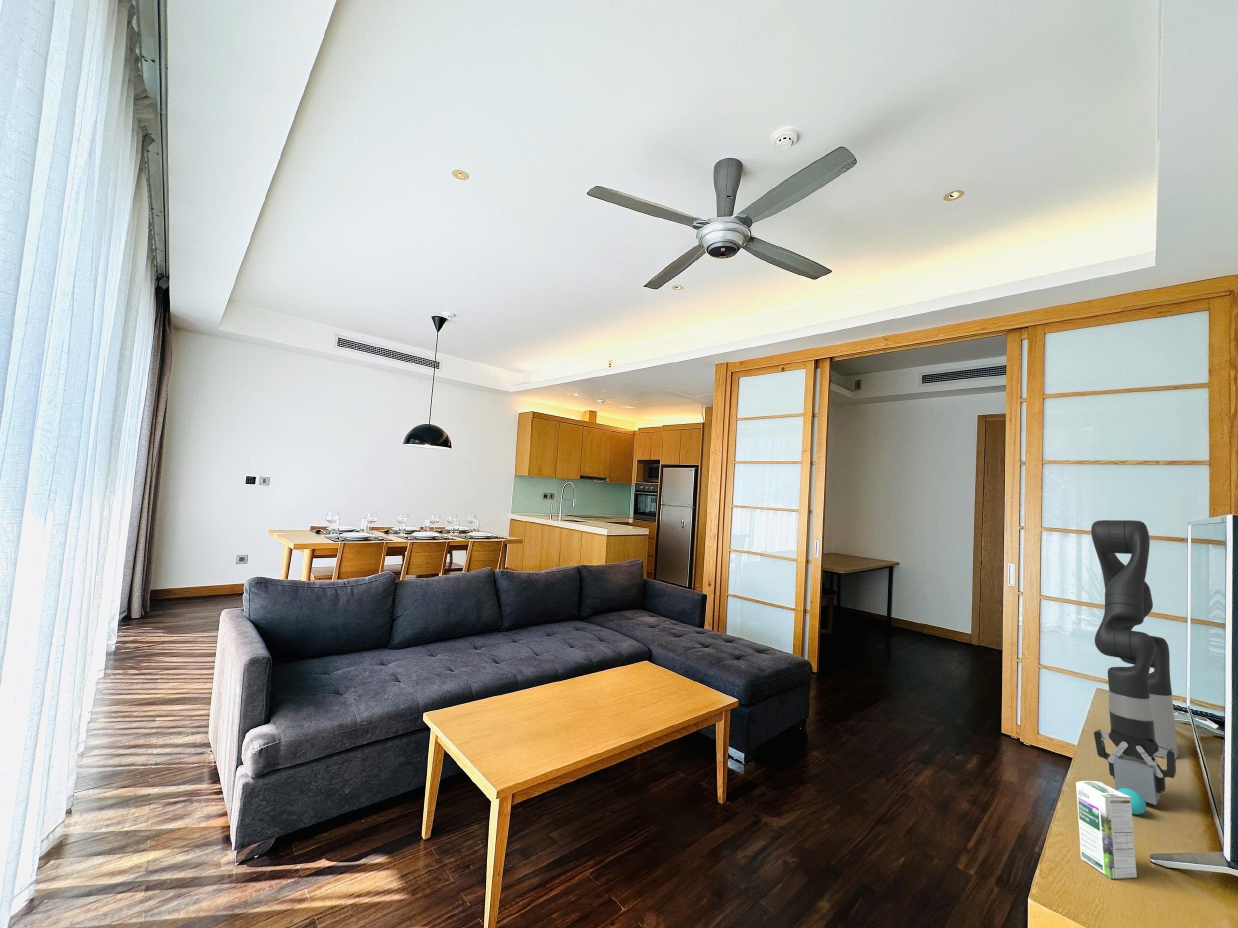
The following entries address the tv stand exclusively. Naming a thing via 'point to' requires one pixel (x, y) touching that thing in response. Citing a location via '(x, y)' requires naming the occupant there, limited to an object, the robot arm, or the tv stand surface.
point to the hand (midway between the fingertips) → (1137, 784)
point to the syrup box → (1106, 829)
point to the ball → (1134, 800)
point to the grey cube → (1136, 777)
